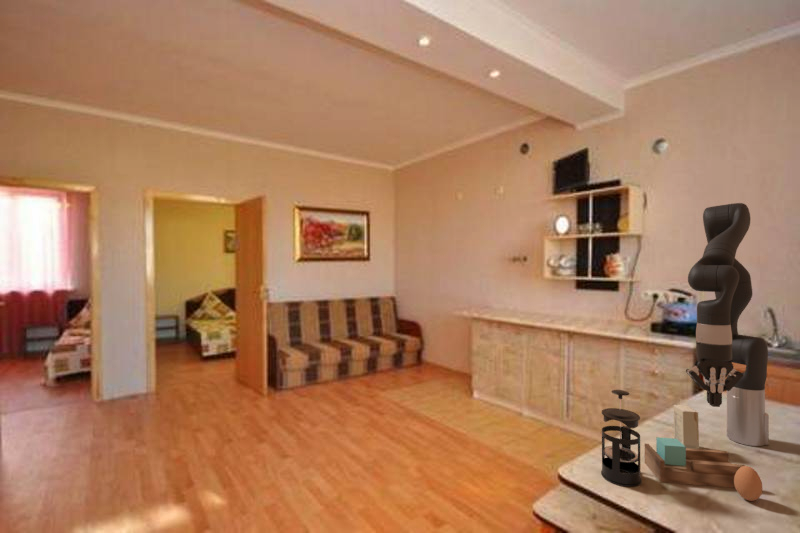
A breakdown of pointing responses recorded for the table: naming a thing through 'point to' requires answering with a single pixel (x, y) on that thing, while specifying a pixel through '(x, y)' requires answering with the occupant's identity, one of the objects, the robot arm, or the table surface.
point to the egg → (748, 483)
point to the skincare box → (686, 426)
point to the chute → (694, 468)
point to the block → (671, 451)
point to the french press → (620, 455)
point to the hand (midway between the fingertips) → (714, 405)
